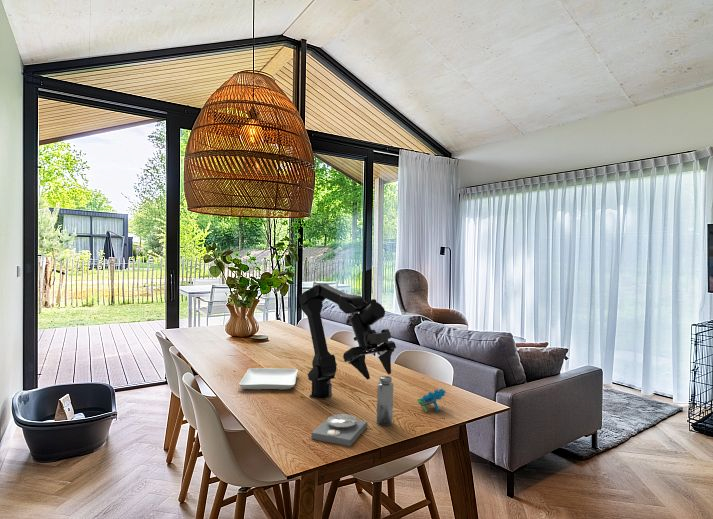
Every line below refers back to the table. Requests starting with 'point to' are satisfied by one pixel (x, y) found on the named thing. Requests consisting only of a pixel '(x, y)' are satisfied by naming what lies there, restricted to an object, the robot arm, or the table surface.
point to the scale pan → (342, 420)
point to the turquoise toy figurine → (431, 399)
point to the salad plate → (269, 378)
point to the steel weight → (385, 401)
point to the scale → (339, 433)
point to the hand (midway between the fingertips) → (379, 376)
